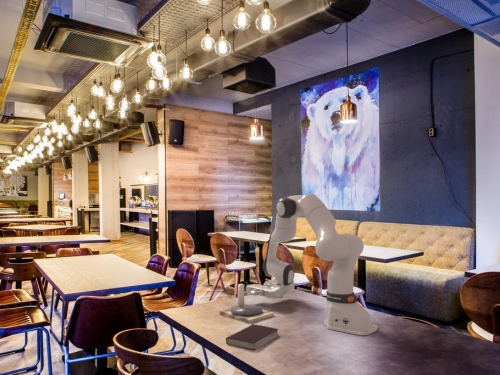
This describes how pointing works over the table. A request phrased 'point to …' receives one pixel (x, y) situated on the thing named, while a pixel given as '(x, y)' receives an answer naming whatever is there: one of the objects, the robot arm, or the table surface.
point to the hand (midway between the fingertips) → (252, 293)
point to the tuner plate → (247, 316)
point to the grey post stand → (244, 305)
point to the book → (252, 337)
